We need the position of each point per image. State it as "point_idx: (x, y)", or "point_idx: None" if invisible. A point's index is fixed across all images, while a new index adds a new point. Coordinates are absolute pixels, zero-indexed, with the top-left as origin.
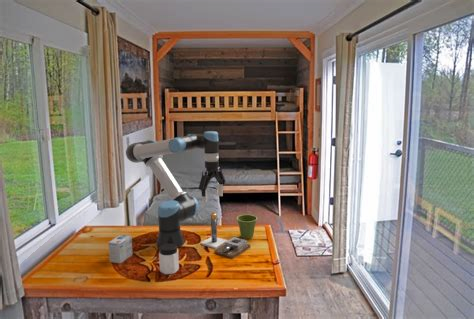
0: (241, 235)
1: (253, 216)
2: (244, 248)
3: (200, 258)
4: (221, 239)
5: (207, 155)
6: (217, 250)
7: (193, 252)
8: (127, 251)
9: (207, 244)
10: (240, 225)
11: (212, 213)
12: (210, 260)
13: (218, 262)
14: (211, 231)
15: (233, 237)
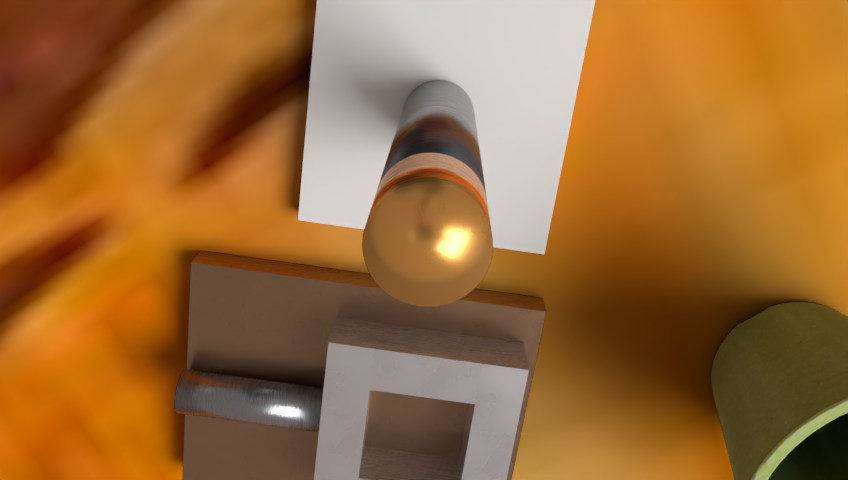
0: (731, 344)
1: None
2: None
3: (7, 182)
4: (535, 167)
5: None
6: (204, 295)
7: (81, 18)
8: None
9: (313, 84)
10: (757, 422)
11: (447, 207)
12: (33, 299)
13: (45, 386)
14: (401, 122)
15: (509, 373)
